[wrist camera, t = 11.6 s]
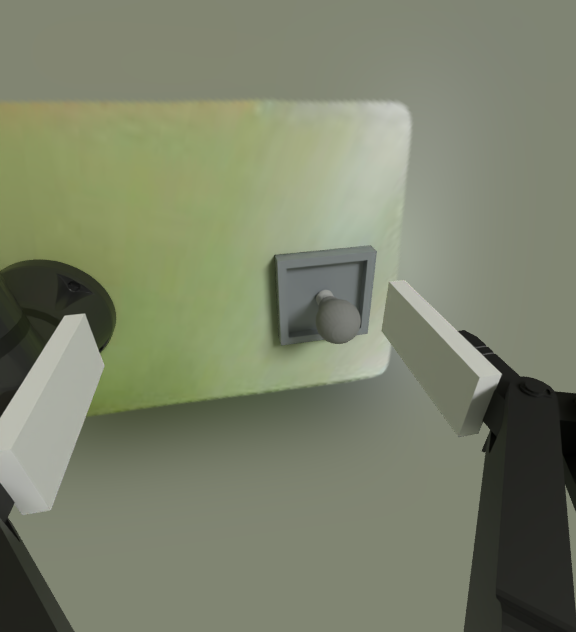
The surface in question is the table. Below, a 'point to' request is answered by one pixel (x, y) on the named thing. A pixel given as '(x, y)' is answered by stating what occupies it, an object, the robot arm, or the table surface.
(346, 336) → the grey light bulb
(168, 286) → the table surface
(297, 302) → the dish
